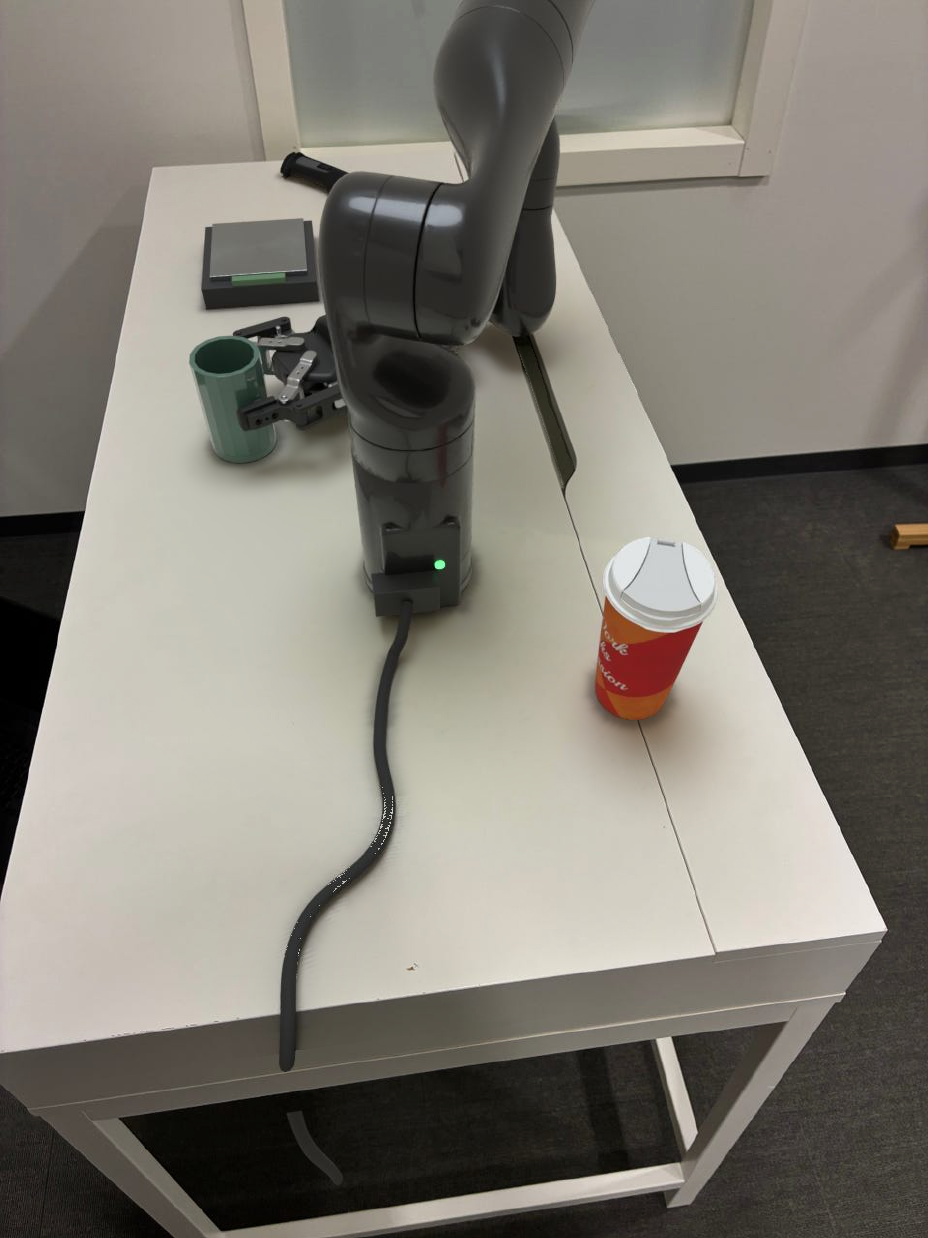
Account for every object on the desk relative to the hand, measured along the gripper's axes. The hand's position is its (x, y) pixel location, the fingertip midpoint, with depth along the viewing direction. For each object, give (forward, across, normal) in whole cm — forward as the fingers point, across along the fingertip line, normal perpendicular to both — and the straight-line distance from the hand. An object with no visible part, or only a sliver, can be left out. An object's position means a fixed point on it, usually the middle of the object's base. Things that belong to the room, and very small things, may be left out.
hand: (220, 396), depth 82 cm
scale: (-16, -27, +6) cm, 32 cm away
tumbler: (-1, 0, +6) cm, 6 cm away
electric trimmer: (-33, -42, +6) cm, 54 cm away
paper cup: (-14, +44, +6) cm, 46 cm away
